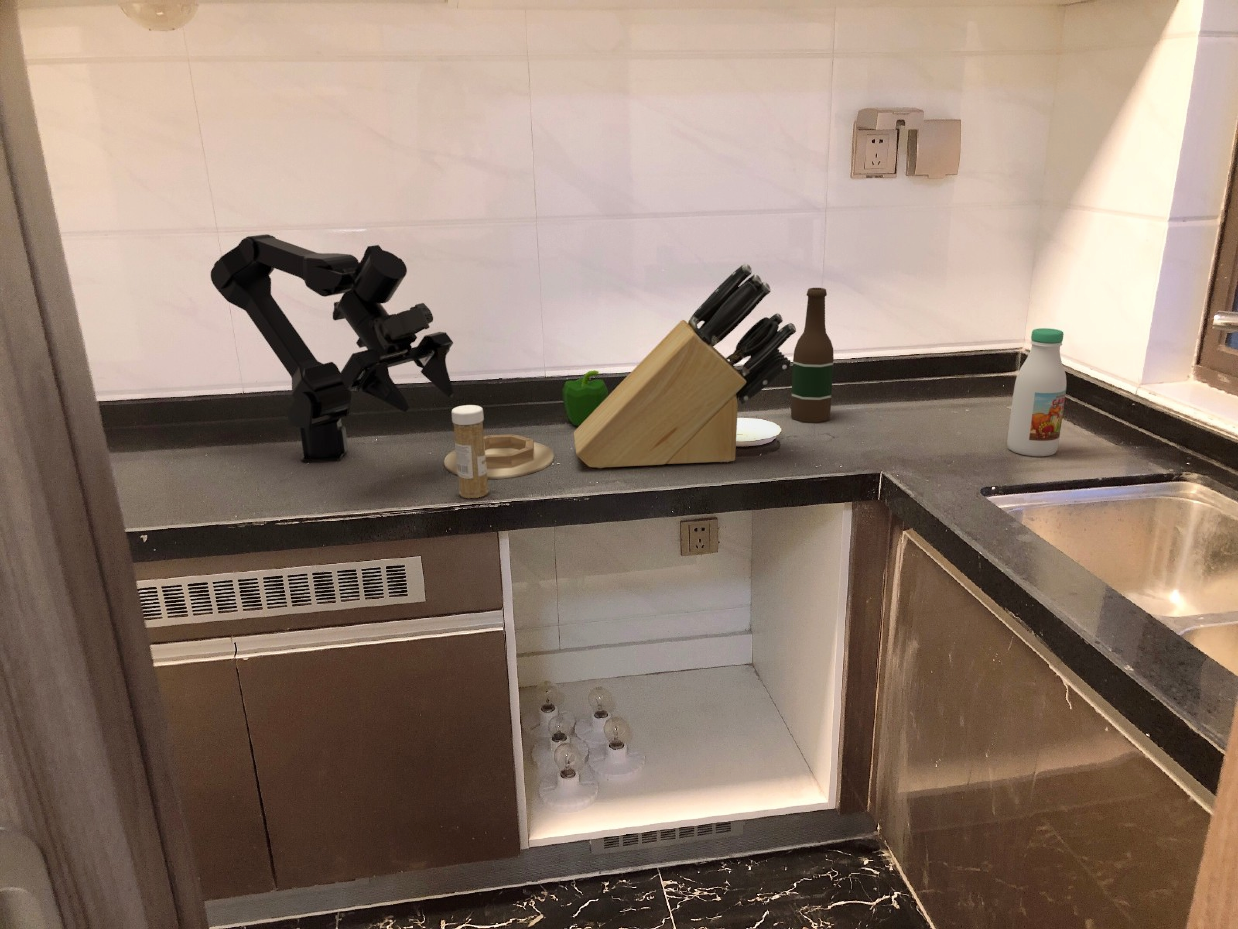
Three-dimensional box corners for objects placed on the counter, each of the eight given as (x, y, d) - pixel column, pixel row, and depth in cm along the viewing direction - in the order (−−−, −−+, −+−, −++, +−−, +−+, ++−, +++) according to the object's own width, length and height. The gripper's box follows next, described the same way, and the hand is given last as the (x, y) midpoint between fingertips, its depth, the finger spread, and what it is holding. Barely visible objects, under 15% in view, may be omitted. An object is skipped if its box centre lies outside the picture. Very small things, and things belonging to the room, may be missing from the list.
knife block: (793, 461, 149) (802, 268, 138) (576, 472, 146) (569, 276, 136) (776, 440, 159) (783, 259, 149) (573, 449, 157) (566, 266, 146)
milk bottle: (1007, 455, 150) (1022, 333, 143) (1005, 440, 156) (1020, 324, 150) (1058, 459, 147) (1077, 336, 140) (1055, 445, 154) (1072, 326, 147)
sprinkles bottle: (494, 495, 138) (488, 409, 133) (466, 501, 135) (459, 414, 131) (481, 486, 141) (474, 402, 137) (453, 492, 139) (446, 407, 134)
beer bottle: (800, 409, 177) (806, 284, 169) (838, 415, 172) (846, 287, 164) (782, 419, 171) (787, 290, 163) (821, 426, 166) (828, 293, 158)
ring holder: (438, 481, 143) (437, 465, 143) (450, 445, 160) (449, 431, 160) (553, 476, 144) (552, 461, 144) (553, 441, 161) (553, 427, 161)
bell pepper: (556, 427, 169) (553, 375, 166) (573, 415, 176) (571, 364, 173) (598, 431, 166) (597, 377, 163) (614, 418, 173) (613, 367, 170)
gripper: (343, 297, 128) (407, 384, 125) (439, 279, 142) (497, 357, 140) (314, 347, 135) (374, 430, 132) (408, 325, 149) (463, 400, 147)
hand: (430, 402), depth 138 cm, fingers open, 9 cm apart
